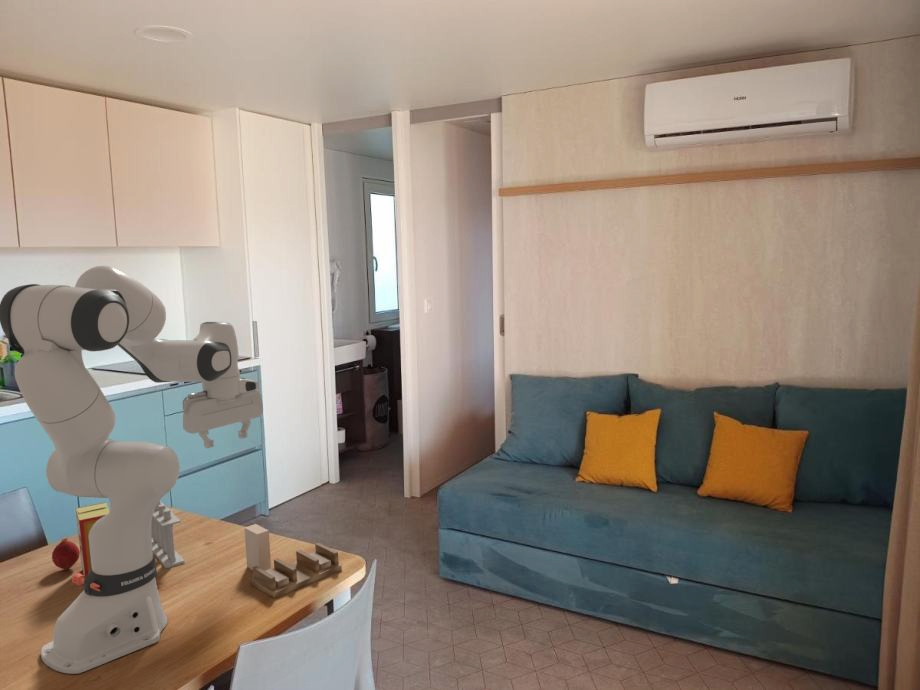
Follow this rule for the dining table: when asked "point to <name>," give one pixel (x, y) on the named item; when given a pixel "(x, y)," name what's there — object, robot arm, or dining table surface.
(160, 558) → the test tube rack
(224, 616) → the dining table surface
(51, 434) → the robot arm
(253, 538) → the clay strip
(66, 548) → the onion
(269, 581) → the slotted holder block
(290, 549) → the dining table surface
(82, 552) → the baking soda box
